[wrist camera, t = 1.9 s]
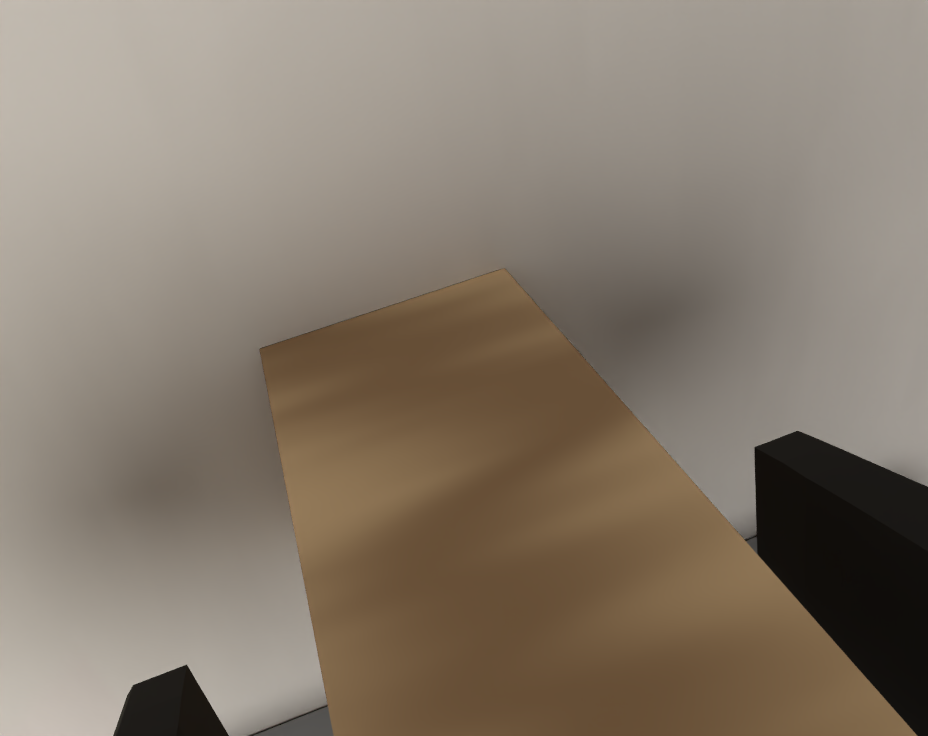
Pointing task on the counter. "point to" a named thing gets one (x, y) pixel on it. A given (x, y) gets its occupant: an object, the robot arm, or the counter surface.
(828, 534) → the robot arm
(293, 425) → the peg
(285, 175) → the counter surface
